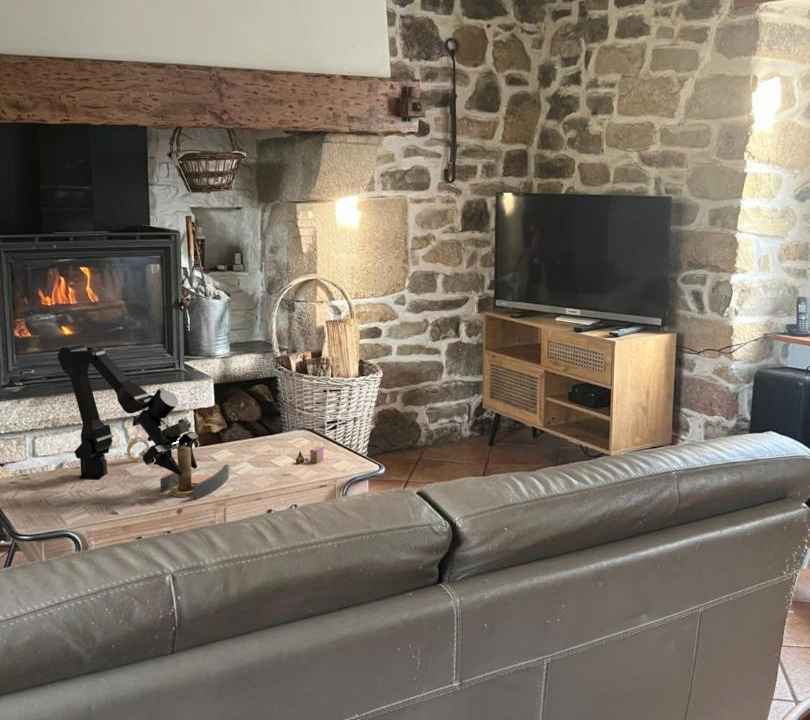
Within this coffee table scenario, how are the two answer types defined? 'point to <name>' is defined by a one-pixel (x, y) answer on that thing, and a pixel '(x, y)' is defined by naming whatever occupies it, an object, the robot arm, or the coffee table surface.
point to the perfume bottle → (312, 455)
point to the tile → (200, 478)
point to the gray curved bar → (200, 488)
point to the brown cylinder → (184, 474)
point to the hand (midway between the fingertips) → (188, 471)
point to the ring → (135, 443)
